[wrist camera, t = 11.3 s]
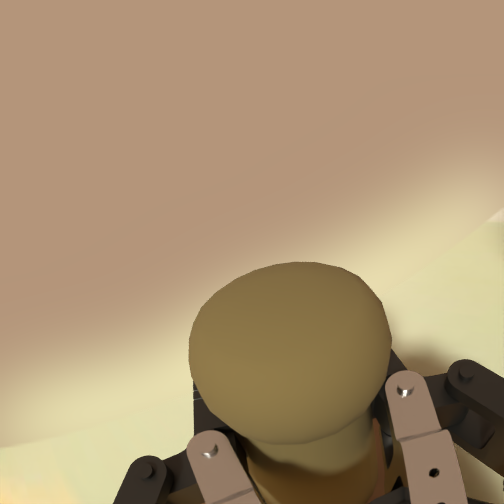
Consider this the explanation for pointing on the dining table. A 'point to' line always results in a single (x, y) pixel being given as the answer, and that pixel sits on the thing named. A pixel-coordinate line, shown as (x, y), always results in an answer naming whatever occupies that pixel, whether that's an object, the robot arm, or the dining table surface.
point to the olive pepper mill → (297, 378)
